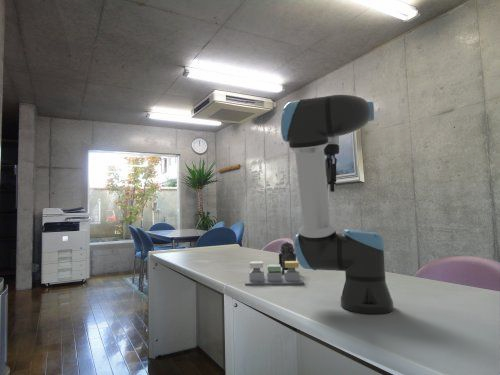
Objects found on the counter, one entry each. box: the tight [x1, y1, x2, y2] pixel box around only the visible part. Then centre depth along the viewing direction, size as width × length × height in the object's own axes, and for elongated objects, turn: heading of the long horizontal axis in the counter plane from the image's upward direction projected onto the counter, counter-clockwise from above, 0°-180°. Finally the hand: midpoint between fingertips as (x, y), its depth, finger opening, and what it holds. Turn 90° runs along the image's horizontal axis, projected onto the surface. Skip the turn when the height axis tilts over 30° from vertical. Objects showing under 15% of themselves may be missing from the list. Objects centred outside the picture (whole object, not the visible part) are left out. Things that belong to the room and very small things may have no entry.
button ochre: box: [285, 260, 300, 272], centre depth 138 cm, size 6×6×5 cm
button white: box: [249, 260, 264, 273], centre depth 139 cm, size 6×6×5 cm
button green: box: [267, 263, 282, 272], centre depth 138 cm, size 6×6×5 cm
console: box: [244, 269, 306, 286], centre depth 138 cm, size 24×16×4 cm, turn 87°
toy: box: [278, 241, 297, 275], centre depth 156 cm, size 8×6×15 cm
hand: (332, 199), depth 137 cm, fingers closed
